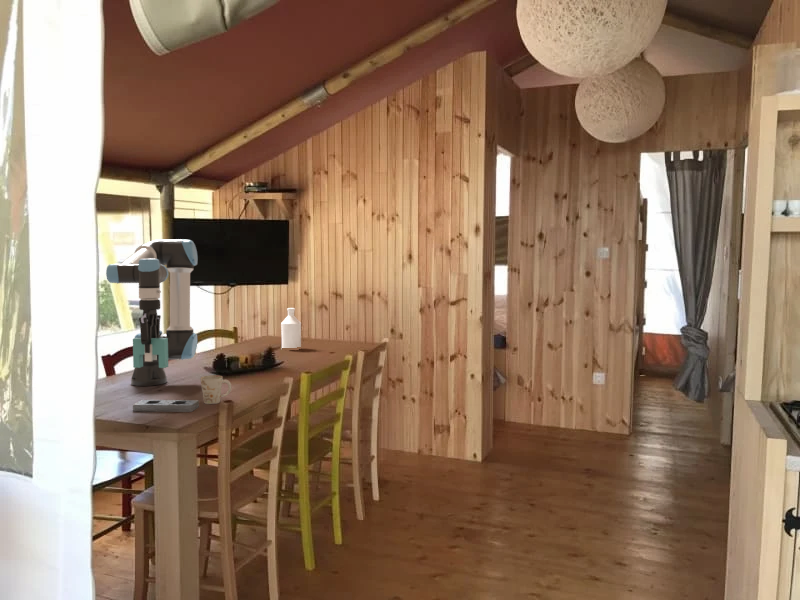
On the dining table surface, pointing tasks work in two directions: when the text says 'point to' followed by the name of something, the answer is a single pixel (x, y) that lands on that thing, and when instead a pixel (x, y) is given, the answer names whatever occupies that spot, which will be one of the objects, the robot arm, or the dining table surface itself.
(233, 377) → the dining table surface
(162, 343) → the panel
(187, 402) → the block
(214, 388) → the mug
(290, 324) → the bottle
